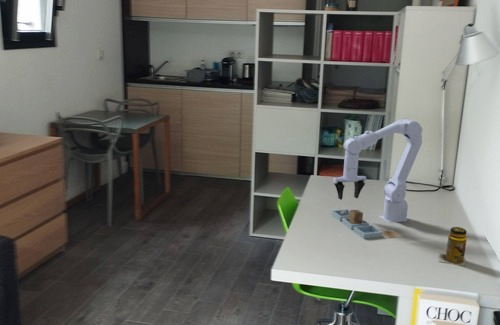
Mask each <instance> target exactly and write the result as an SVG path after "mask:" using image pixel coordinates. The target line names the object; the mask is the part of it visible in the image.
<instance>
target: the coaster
mask: <svg viewBox="0 0 500 325" xmlns="http://www.w3.org/2000/svg"><path fill="white" fill-rule="evenodd" d="M380 231H381V232H382V236H383V237H384V238H386V239H393V238H394V239H395V238H403V236H404V235H403V236H402V235H401V234H400V233H398V232H396V231H395V230H393V229H390V230H388V229H387V230H380Z"/></svg>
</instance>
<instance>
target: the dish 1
mask: <svg viewBox="0 0 500 325" xmlns="http://www.w3.org/2000/svg"><path fill="white" fill-rule="evenodd" d="M350 210H351V209H349V208H347V209H336V210H335V209H333V210H331V214H330V215H331V216H332V217H334V218H335V219H336V220H337V221H339V222H342V218H349V212H350ZM342 211H347V213H348V215H347V216H341V212H342Z"/></svg>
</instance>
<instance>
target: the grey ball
mask: <svg viewBox="0 0 500 325" xmlns="http://www.w3.org/2000/svg"><path fill="white" fill-rule="evenodd" d="M347 215H348V213H347V211H342V212H341V216H347Z"/></svg>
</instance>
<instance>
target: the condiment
mask: <svg viewBox="0 0 500 325" xmlns="http://www.w3.org/2000/svg"><path fill="white" fill-rule="evenodd" d="M467 239H468V238H467V230H466V229H465V228H463V227H459V226H453V227H451V228H450V231H449V235H448V238H447V245H446V246H447V247H446V252H445V254H444V253H439V255H438V256H439V258H438V262H442V263H447V264H451V265H456V266H462V267H464V266H465V264H466V263H465V253H466V247H467V241H468V240H467Z"/></svg>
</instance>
